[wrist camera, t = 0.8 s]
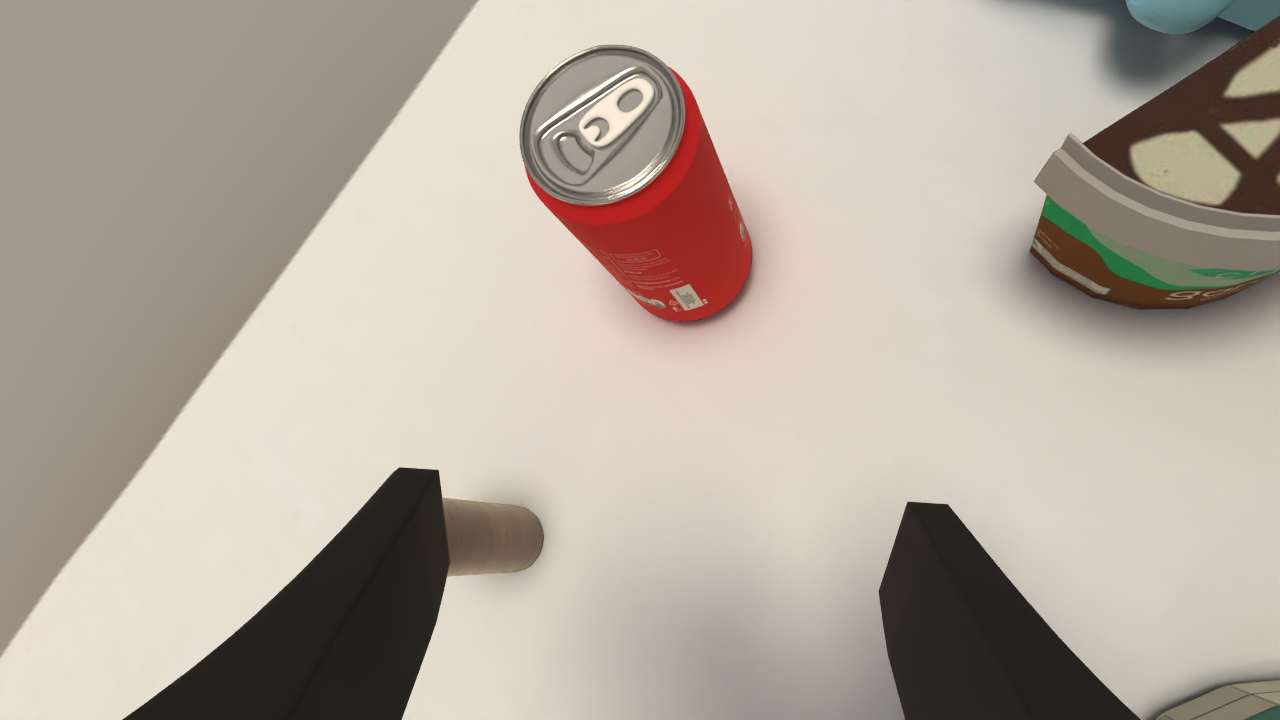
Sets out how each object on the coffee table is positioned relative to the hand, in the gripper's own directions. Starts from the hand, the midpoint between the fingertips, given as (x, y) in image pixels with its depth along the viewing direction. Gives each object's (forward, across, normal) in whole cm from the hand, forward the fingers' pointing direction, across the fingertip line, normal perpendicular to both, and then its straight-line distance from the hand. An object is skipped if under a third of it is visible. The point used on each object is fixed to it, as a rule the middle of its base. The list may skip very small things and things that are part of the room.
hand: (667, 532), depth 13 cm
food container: (+17, -19, +2) cm, 26 cm away
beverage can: (+21, -1, +6) cm, 22 cm away
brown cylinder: (+14, +6, +15) cm, 21 cm away
